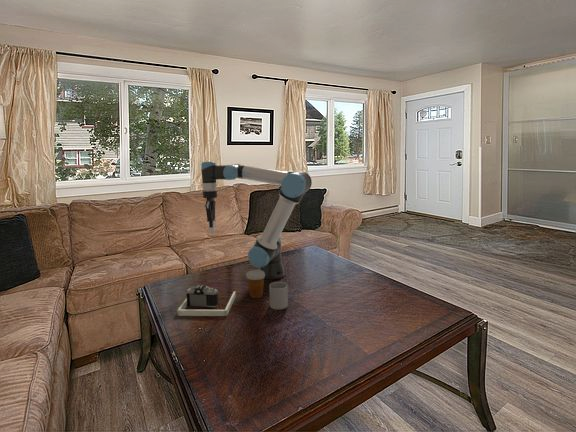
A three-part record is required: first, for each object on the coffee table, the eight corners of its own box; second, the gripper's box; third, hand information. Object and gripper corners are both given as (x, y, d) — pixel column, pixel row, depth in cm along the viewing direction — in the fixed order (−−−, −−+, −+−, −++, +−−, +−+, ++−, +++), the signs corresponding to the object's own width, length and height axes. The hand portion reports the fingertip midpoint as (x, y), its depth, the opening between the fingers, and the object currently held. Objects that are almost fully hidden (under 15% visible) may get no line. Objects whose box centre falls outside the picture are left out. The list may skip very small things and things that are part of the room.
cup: (269, 302, 167) (269, 282, 165) (286, 301, 167) (286, 281, 165) (270, 310, 158) (269, 289, 156) (288, 309, 159) (288, 288, 157)
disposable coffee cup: (250, 301, 168) (250, 277, 166) (243, 294, 176) (242, 271, 174) (268, 297, 172) (268, 273, 170) (261, 290, 180) (260, 268, 178)
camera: (223, 300, 169) (222, 280, 167) (216, 308, 160) (215, 288, 159) (193, 298, 172) (191, 279, 170) (184, 306, 163) (183, 286, 161)
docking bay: (235, 296, 174) (235, 291, 173) (226, 316, 153) (226, 310, 153) (192, 296, 175) (191, 291, 174) (177, 315, 154) (176, 310, 154)
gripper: (206, 189, 196) (208, 230, 201) (199, 191, 183) (202, 235, 188) (219, 188, 196) (221, 230, 200) (213, 191, 183) (215, 235, 187)
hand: (212, 232), depth 194 cm, fingers closed
